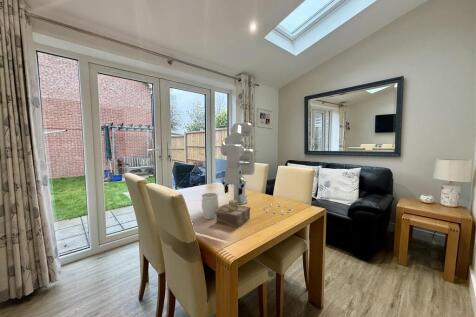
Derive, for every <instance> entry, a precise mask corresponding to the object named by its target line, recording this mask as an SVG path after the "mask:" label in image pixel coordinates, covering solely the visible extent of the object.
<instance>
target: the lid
mask: <svg viewBox="0 0 476 317" xmlns="http://www.w3.org/2000/svg"><path fill="white" fill-rule="evenodd" d="M248 210H250V211H251V206H246V205H242V204H238V201H236V200H233V199H232V200H229V201H228V204H227V205H225V206H223V207H220V208H218V210H217V211H216V213H217V214H221V215H226V216H231V217H235V218H238V217H239V216H241V215H242V214H244V213H245V212H247V211H248Z"/></svg>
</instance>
